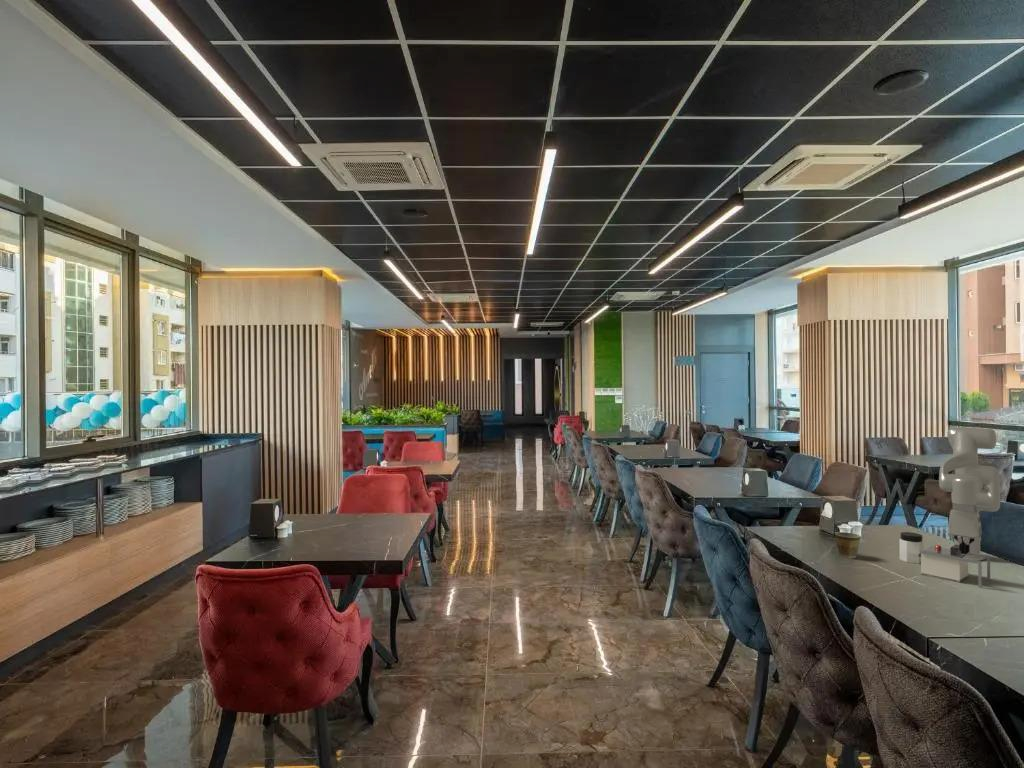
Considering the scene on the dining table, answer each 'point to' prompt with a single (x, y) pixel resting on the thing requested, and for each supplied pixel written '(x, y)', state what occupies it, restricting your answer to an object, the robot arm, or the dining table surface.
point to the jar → (910, 547)
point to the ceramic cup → (847, 544)
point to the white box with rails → (950, 566)
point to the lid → (947, 551)
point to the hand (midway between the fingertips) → (964, 553)
